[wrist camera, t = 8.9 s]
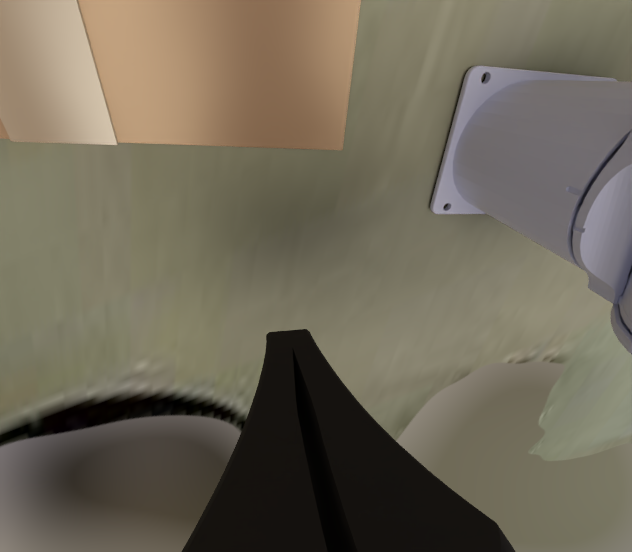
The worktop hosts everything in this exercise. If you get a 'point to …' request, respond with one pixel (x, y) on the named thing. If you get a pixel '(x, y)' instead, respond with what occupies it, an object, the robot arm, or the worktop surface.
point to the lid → (177, 71)
